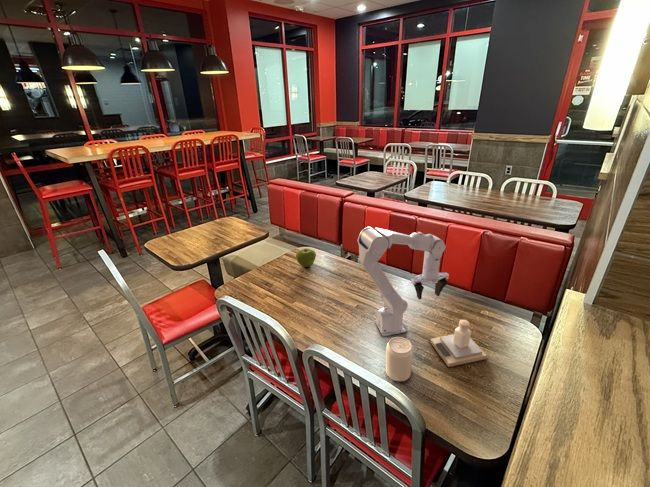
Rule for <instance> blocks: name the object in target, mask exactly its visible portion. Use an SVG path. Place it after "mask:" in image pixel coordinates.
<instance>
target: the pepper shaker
mask: <svg viewBox="0 0 650 487" xmlns="http://www.w3.org/2000/svg"><path fill="white" fill-rule="evenodd" d="M470 326H471V324H470V322H469V320H467V319H460V320H459V323H458V326H457V327H455V329H454V333H453V334H454V339H453V343H454V344H456V345H457V346H458V347H459V348H461V349H462V348H464V347H466V346H468V345H469V342H470V338H472V337H471V336H472V331H471V329H470Z"/></svg>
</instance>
